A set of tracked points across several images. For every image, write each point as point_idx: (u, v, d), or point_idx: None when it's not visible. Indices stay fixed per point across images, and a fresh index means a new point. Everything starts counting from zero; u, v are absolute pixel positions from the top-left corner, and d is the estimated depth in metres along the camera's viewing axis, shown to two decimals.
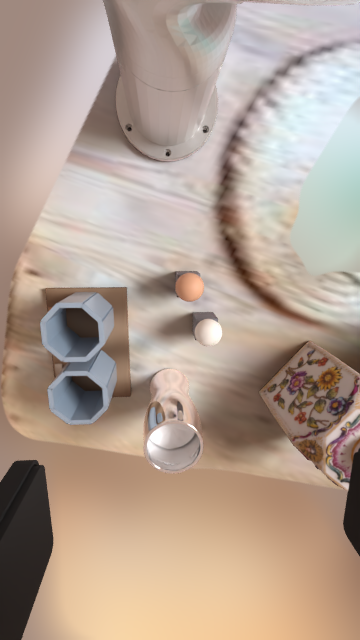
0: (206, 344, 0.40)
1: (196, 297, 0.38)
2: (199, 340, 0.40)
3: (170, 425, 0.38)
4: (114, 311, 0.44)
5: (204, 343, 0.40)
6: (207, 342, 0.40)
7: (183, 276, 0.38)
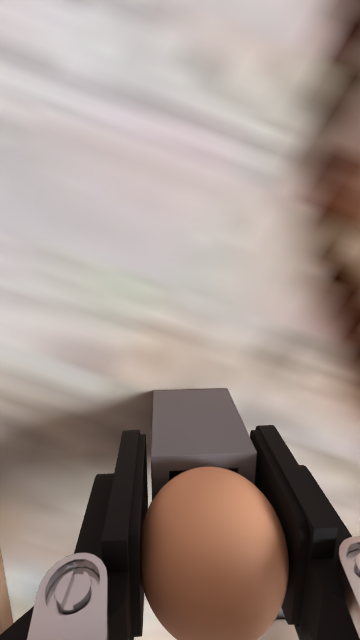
0: None
1: None
2: None
3: None
4: None
5: None
6: None
7: (179, 525, 0.07)
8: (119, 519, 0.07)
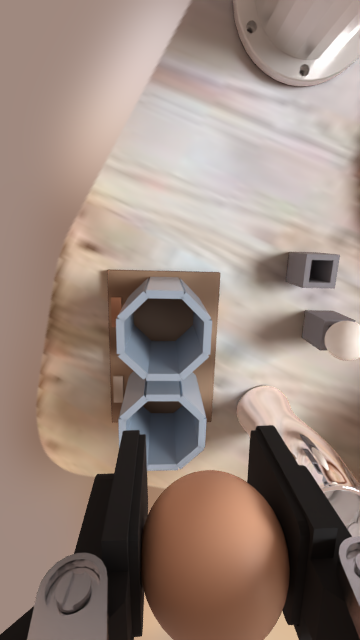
0: (347, 358, 0.27)
1: None
2: (337, 351, 0.27)
3: None
4: None
5: (344, 357, 0.27)
6: (352, 355, 0.27)
7: (180, 530, 0.07)
8: (119, 519, 0.07)
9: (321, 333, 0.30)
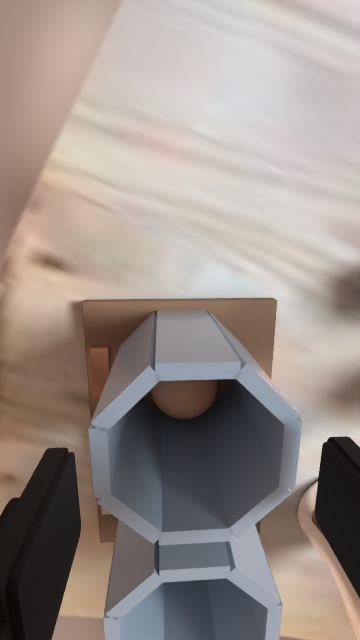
0: None
1: (199, 413, 0.16)
2: None
3: None
4: None
5: None
6: None
7: None
8: (2, 560, 0.06)
9: None
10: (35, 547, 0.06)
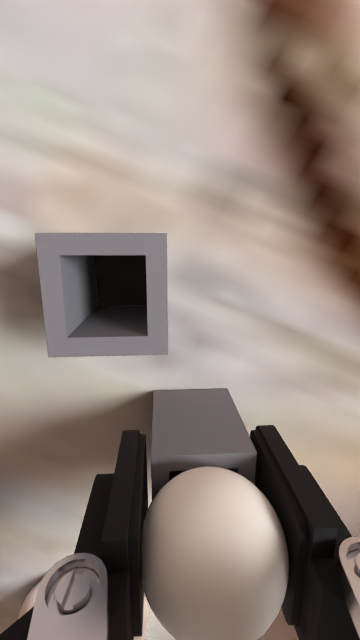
0: None
1: None
2: (158, 619, 0.07)
3: None
4: None
5: None
6: None
7: None
8: (119, 519, 0.07)
9: None
10: (140, 511, 0.07)
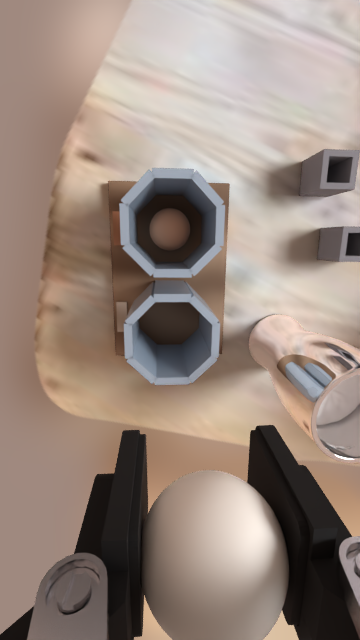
0: None
1: (178, 242, 0.27)
2: None
3: None
4: None
5: None
6: None
7: (160, 211, 0.26)
8: (119, 519, 0.07)
9: (340, 242, 0.28)
10: (140, 511, 0.07)
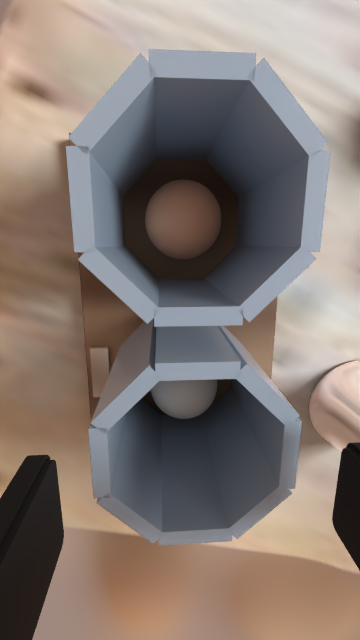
0: (177, 416, 0.16)
1: (201, 245, 0.14)
2: (159, 406, 0.16)
3: None
4: None
5: (171, 415, 0.16)
6: (180, 413, 0.15)
7: (165, 186, 0.14)
8: None
9: None
10: (5, 563, 0.06)
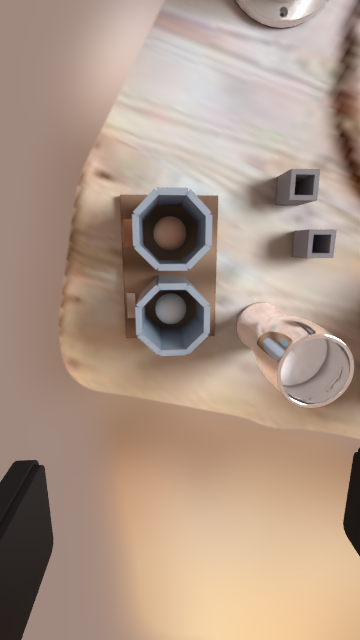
0: (167, 321, 0.35)
1: (176, 243, 0.33)
2: (159, 316, 0.35)
3: (294, 352, 0.29)
4: None
5: (164, 320, 0.35)
6: (168, 319, 0.35)
7: (162, 219, 0.33)
8: None
9: (307, 242, 0.34)
10: None
